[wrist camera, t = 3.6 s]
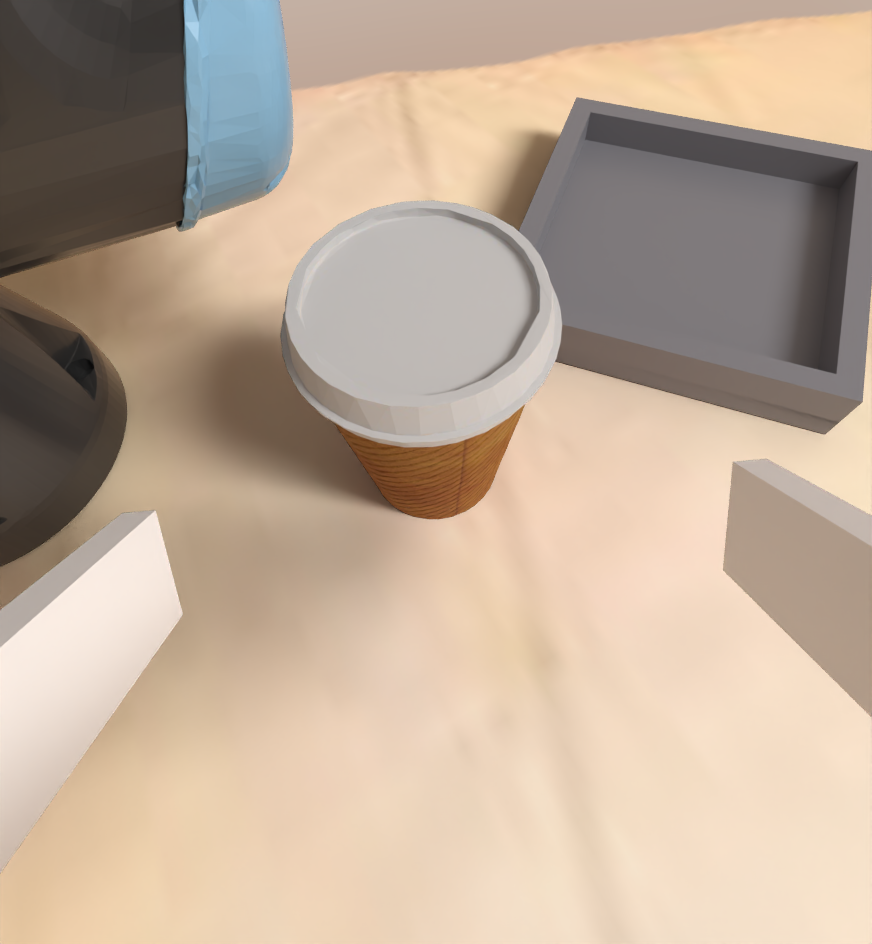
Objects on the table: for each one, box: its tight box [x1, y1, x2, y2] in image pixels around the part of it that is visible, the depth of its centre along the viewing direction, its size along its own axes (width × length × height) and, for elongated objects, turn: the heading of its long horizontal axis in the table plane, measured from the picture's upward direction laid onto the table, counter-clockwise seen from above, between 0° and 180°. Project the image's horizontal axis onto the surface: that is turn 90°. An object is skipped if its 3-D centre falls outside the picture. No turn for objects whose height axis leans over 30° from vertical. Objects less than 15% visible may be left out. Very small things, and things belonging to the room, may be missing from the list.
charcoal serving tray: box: [519, 98, 872, 434], centre depth 33 cm, size 18×18×3 cm
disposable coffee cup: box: [281, 201, 562, 519], centre depth 24 cm, size 10×10×12 cm
